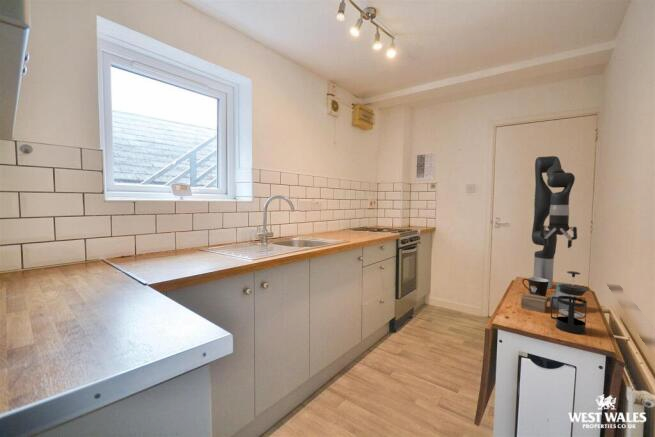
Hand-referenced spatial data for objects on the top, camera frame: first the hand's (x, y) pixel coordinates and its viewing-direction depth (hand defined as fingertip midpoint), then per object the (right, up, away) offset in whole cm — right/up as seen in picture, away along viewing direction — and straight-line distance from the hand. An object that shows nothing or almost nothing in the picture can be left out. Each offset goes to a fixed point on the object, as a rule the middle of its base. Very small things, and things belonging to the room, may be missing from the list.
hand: (557, 247), depth 148 cm
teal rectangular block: (-1, -23, -5) cm, 24 cm away
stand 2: (-1, -28, -5) cm, 29 cm away
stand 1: (-16, -28, -6) cm, 33 cm away
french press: (-17, -30, -28) cm, 45 cm away
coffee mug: (-5, -27, +9) cm, 29 cm away
